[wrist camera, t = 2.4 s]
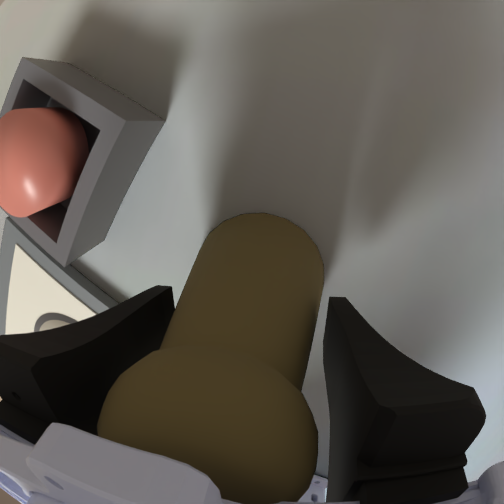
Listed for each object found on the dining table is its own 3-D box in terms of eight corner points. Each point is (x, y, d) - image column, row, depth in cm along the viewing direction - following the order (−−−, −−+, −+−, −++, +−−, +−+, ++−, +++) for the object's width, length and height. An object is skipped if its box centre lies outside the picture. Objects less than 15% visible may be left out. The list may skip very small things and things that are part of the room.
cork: (197, 319, 16) (102, 504, 6) (197, 206, 14) (13, 371, 4) (313, 335, 16) (303, 550, 6) (334, 221, 13) (388, 458, 3)
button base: (165, 120, 13) (126, 120, 10) (104, 240, 15) (64, 267, 12) (68, 63, 12) (22, 57, 9) (24, 173, 15) (-19, 187, 11)
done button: (104, 133, 11) (65, 138, 9) (68, 219, 13) (33, 237, 10) (43, 92, 11) (4, 93, 8) (15, 172, 12) (-21, 183, 10)
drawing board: (229, 377, 18) (226, 388, 17) (151, 447, 23) (148, 455, 22) (14, 214, 16) (4, 218, 15) (0, 331, 21) (-7, 337, 20)
